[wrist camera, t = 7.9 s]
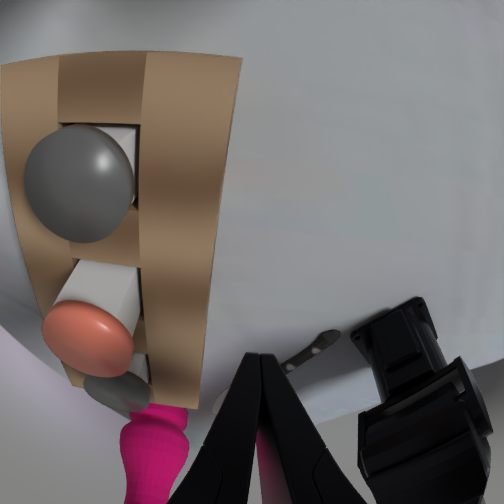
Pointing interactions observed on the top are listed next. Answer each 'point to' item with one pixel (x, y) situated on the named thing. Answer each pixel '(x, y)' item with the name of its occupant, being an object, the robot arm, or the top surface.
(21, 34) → the top surface
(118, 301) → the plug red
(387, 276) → the top surface
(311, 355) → the chef's knife
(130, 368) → the plug
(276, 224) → the top surface
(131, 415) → the pepper mill
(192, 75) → the socket board
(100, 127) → the plug
